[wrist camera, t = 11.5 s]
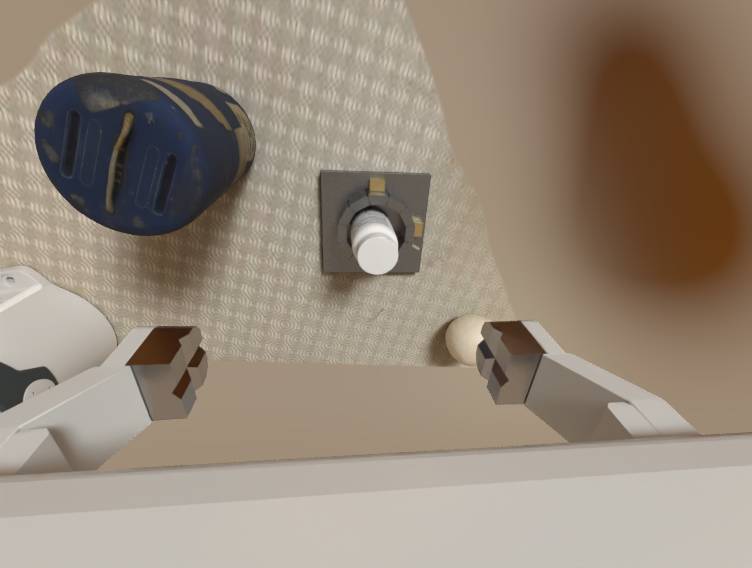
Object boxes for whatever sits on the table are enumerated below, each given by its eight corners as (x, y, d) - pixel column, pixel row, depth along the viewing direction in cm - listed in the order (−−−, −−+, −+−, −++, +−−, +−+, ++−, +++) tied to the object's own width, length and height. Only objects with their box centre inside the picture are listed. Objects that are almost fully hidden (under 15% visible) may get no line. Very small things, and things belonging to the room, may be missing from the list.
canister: (141, 139, 34) (-24, 177, 19) (189, 55, 31) (44, 18, 16) (227, 201, 38) (151, 276, 22) (278, 132, 35) (230, 162, 20)
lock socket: (323, 268, 43) (322, 282, 40) (321, 169, 37) (319, 176, 34) (417, 268, 44) (423, 281, 41) (428, 173, 39) (436, 180, 36)
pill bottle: (388, 247, 41) (398, 280, 34) (348, 244, 41) (350, 278, 34) (393, 208, 39) (405, 235, 32) (351, 205, 39) (354, 231, 31)
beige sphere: (494, 331, 51) (515, 362, 45) (448, 350, 52) (462, 382, 46) (482, 296, 48) (503, 325, 42) (433, 317, 49) (447, 347, 43)
